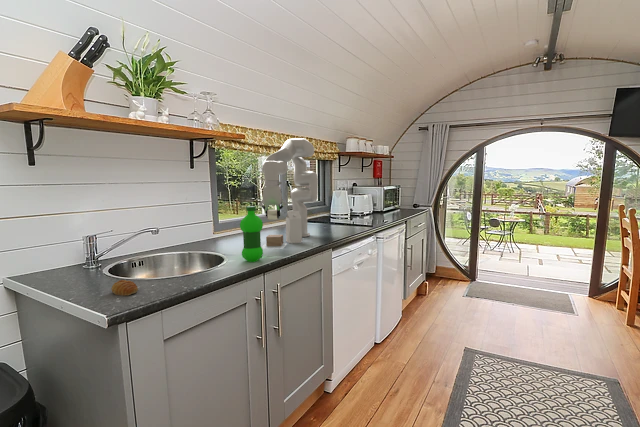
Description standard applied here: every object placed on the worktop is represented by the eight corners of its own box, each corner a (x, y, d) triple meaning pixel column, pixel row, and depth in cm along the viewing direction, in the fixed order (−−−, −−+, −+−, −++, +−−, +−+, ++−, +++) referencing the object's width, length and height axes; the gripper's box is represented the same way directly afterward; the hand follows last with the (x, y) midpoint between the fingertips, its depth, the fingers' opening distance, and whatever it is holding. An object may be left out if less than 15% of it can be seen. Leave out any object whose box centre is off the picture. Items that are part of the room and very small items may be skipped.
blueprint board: (265, 245, 195) (265, 243, 195) (287, 244, 194) (287, 243, 194) (258, 250, 179) (258, 248, 179) (283, 250, 178) (283, 248, 178)
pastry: (144, 292, 114) (143, 281, 114) (123, 298, 108) (122, 287, 108) (129, 288, 119) (128, 277, 119) (109, 293, 114) (108, 282, 113)
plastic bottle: (236, 261, 155) (234, 207, 152) (251, 257, 164) (249, 205, 161) (254, 264, 150) (252, 207, 148) (268, 259, 159) (266, 206, 157)
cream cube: (269, 218, 187) (269, 209, 187) (278, 218, 187) (278, 209, 186) (267, 219, 182) (267, 210, 182) (276, 219, 182) (276, 210, 181)
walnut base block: (269, 243, 194) (269, 234, 194) (283, 243, 194) (283, 234, 193) (266, 246, 186) (266, 237, 186) (280, 246, 186) (280, 237, 185)
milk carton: (286, 243, 200) (285, 211, 198) (297, 242, 202) (296, 210, 201) (290, 245, 193) (289, 211, 191) (302, 244, 196) (301, 211, 194)
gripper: (288, 183, 186) (289, 216, 188) (257, 184, 187) (259, 217, 189) (286, 184, 178) (287, 218, 180) (254, 184, 179) (255, 218, 181)
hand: (273, 217), depth 184 cm, fingers closed on cream cube, 5 cm apart
